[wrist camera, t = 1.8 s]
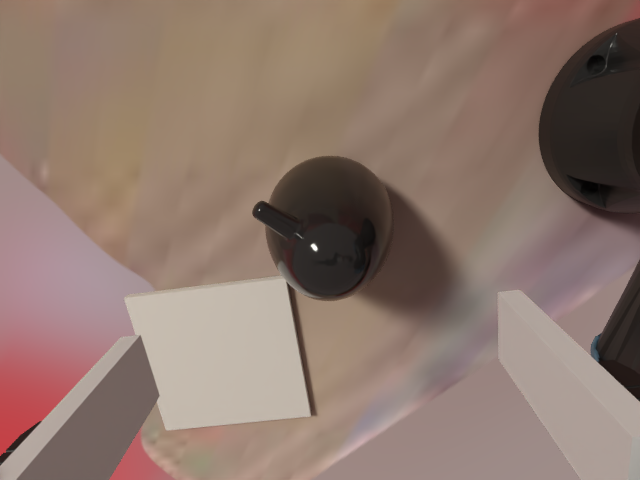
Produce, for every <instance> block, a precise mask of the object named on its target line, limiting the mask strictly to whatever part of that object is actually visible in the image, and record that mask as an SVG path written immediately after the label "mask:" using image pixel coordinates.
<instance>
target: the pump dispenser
mask: <svg viewBox="0 0 640 480" xmlns="http://www.w3.org/2000/svg"><path fill="white" fill-rule="evenodd" d="M252 214H253V216H254V217H255V218H256V219H257V220H259V221H260V222H262V223H263V224H265V230H266V239H267V244H268V248H269V251H270V254H271V257H272V259H273V261H274V263H275V265H276V267H277V269H278V271H279V272H280V274H281V275H282V277H283V278H284V279H285V280H286V282H287V283H288V284H289V285H290V286H291V287H293V288H294V289H295V290H296V291H298V292H299V293H301V294H303V295H305V296H307V297H309V298H312V299H316V300H320V301H337V300H341V299H345V298H348V297H350V296H352V295H354V294H356V293H358V292H359V291H361V290H362V289H364V288H365V287H366V286H367V285H368V284H370V283H371V282H372V281H373V279H374V278H375V277H376V276H377V275H378V273H379V272H380V271H381V269H382V267H383V266H384V264H385V262H386V260H387V258H388V255H389V252H390V249H391V245H392V241H393V233H394V216H393V209H392V204H391V201H390V198H389V195H388V193H387V191H386V189H385V187H384V186H383V184H382V183H381V181H380V180H379V179H378V177H377V176H376V175H375V174H374V173H373V172H372V171H371V170H369V169H368V168H367V167H365V166H364V165H362V164H360V163H358V162H356V161H354V160H351V159H348V158H344V157H339V156H321V157H316V158H312V159H309V160H306V161H304V162H302V163H300V164H298V165H296V166H295V167H293V168H292V169H291V170H290V171H288V172H287V173H286V174H285V175H284V176H283V177H282V179H281V180H280V181H279V182H278V184H277V185H276V187H275V189H274V190H273V192H272V195H271V197H270V200H269V203H267V202H265V201H260V202H258V203H257V204H256V205H255V206H254V208H253V212H252Z"/></svg>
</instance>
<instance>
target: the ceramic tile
mask: <svg viewBox="0 0 640 480" xmlns="http://www.w3.org/2000/svg"><path fill="white" fill-rule="evenodd" d="M124 300H125V303H126V306H127V309H128V312H129V315H130V319H131V322H132V325H133V328H134V331H135V334H136V335H141V338H142V341H143V344H144V347H145V350H146V353H147V357H148V360H149V363H150V366H151V369H152V372H153V376H154V379H155V382H156V385H157V388H158V391H159V395H160V396H159V398H158V400H157V403H158V407H159V410H160V413H161V416H162V419H163V422H164V425H165V428H166V431H167V430H177V429H187V428H197V427H207V426H218V425H228V424H238V423H248V422H258V421H268V420H278V419H289V418H299V417H309V416H311V407H310V401H309V396H308V390H307V385H306V379H305V374H304V369H303V363H302V358H301V352H300V347H299V341H298V336H297V331H296V325H295V320H294V314H293V309H292V303H291V298H290V292H289V287H288V283H287V282H286V280H285V279H284V278H283V277H282V276H274V277H266V278H258V279H250V280H242V281H234V282H226V283H218V284H210V285H202V286H194V287H186V288H178V289H170V290H162V291H154V292H146V293H138V294H130V295H127V296H126V297H125V298H124Z"/></svg>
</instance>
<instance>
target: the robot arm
mask: <svg viewBox="0 0 640 480" xmlns="http://www.w3.org/2000/svg"><path fill="white" fill-rule="evenodd" d="M539 145H540V151H541V155H542V159H543V162H544V165H545V167H546V169H547V171H548V173H549V175H550V176H551V178H552V179H553V180H554V182H555V183H556V184H557V185H558V186H559V187H560V188H561V189H562V190H563V191H564V192H565V193H567V194H568V195H569V196H571V197H573V198H574V199H576V200H578V201H580V202H583V203H585V204H588V205H591V206H594V207H596V208H599V209H603V210H606V211H611V212H619V213H640V18H638V19H635V20H632V21H629V22H625V23H622V24H620V25H617V26H615V27H612V28H610V29H608V30H606V31H604V32H602V33H601V34H599V35H597V36H596V37H594V38H593V39H592V40H590V41H589V42H587V43H586V44H585V45H584V46H582V47H581V48H580V49H579V50H578V51H577V52H576V53H575V54H574V55H573V56H572V57H571V58H570V59H569V60H568V62H567V63H566V64H565V65H564V66H563V68H562V69H561V70H560V72H559V73H558V75H557V76H556V78H555V80H554V82H553V83H552V85H551V87H550V89H549V91H548V94H547V96H546V99H545V101H544V104H543V108H542V112H541V117H540V123H539ZM498 347H499V361H500V362H501V363H502V365H503V366H504V368H505V369H506V371H507V372H508V374H509V375H510V377H511V378H512V380H513V381H514V383H515V384H516V385H517V387H518V388H519V390H520V391H521V393H522V394H523V396H524V397H525V399H526V400H527V402H528V403H529V405H530V406H531V408H532V409H533V410H534V412H535V413H536V415H537V416H538V418H539V419H540V421H541V422H542V424H543V425H544V427H545V428H546V429H547V431H548V432H549V434H550V435H551V437H552V438H553V440H554V441H555V443H556V444H557V445H558V447H559V449H560V450H561V452H562V453H563V455H564V456H565V458H566V459H567V460H568V462H569V463H570V465H571V466H572V468H573V469H574V471H575V472H576V474H577V475H578V477H579V478H580V480H640V260H639V262H638V264H637V266H636V268H635V270H634V272H633V274H632V276H631V278H630V280H629V282H628V284H627V286H626V288H625V290H624V292H623V294H622V296H621V298H620V300H619V302H618V303H617V305H616V307H615V309H614V311H613V313H612V315H611V317H610V319H609V320H608V323H607V324H606V326H605V328H604V330H603V332H602V333H601V334H600V335H598V336H596V337H595V338H594V340H593V342H592V344H591V355H589V354H588V353H587V352H586V351H585V350H584V349H583V348H582V347H581V346H579V345H578V344H577V343H576V342H575V341H574V340H573V339H572V338H571V337H570V336H569V335H568V334H567V333H566V332H565V331H564V330H562V329H561V328H560V327H559V326H558V325H557V324H556V323H555V322H554V321H553V320H552V319H551V318H550V317H549V316H548V315H546V314H545V313H544V312H543V311H542V310H541V309H540V308H539V307H538V306H537V305H536V304H535V303H534V302H533V301H531V300H530V299H529V298H528V297H527V296H526V295H525V294H524V293H523V292H522V291H521V290H513V291H504V292H498ZM159 396H160V395H159V391H158V388H157V385H156V382H155V379H154V376H153V372H152V369H151V366H150V363H149V360H148V357H147V353H146V350H145V347H144V344H143V341H142V338H141V335H134V336H126V337H121V338H120V339H119V340H118V341H117V342H116V343H115V344H114V345H113V346H112V347H111V348H110V350H108V352H107V353H106V354H105V355H104V356H103V357H102V358H101V359H100V360H99V361H98V362H97V363H96V364H95V365H94V367H93V368H92V369H91V370H90V371H89V372H88V373H87V374H86V375H85V376H84V377H83V378H82V379H81V381H79V382H78V384H77V385H76V386H75V387H74V388H73V389H72V390H71V391H70V392H69V393H68V394H67V395H66V396H65V397H64V399H62V401H61V402H60V403H59V404H58V405H57V406H56V407H55V408H54V409H53V410H52V411H51V412H50V414H48V415H47V417H46V418H45V419H44V420H43V421H40V422H38V423H37V424H35V425H34V426H33V427H31V428H30V429H29V430H27V431H26V432H24V433H23V434H21V435H20V436H19V437H18V439H16V441H15V442H14V443H13V444H12V445H11V446H10V447H9V448H8V449H7V450H6V453H3V454H2V455H1V456H0V480H109V479H110V477H111V476H112V474H113V472H114V471H115V469H116V467H117V466H118V464H119V462H120V461H121V459H122V457H123V456H124V454H125V453H126V451H127V449H128V448H129V446H130V444H131V443H132V441H133V439H134V438H135V436H136V434H137V433H138V431H139V429H140V428H141V426H142V425H143V423H144V421H145V420H146V418H147V416H148V415H149V413H150V411H151V410H152V408H153V406H154V405H155V403H156V401H157V400H158V398H159Z"/></svg>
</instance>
